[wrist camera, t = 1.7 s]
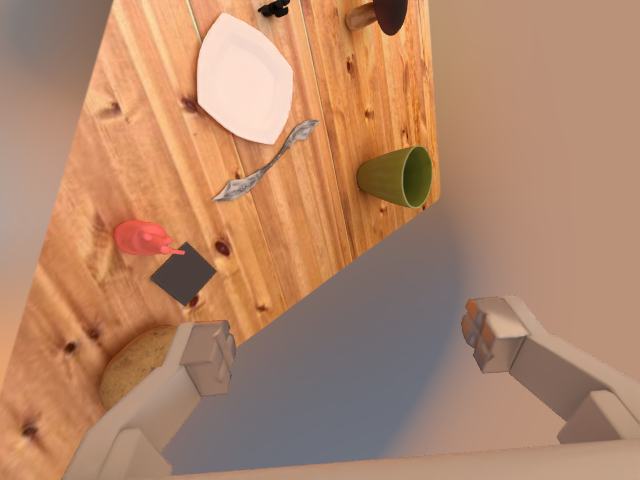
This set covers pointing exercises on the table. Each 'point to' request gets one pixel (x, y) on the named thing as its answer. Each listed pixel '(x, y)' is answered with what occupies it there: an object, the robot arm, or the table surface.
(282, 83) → the plate
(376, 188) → the flower pot
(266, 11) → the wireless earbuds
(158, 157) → the table surface
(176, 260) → the coaster
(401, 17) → the decorative mushroom
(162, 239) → the figurine
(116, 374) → the potato
